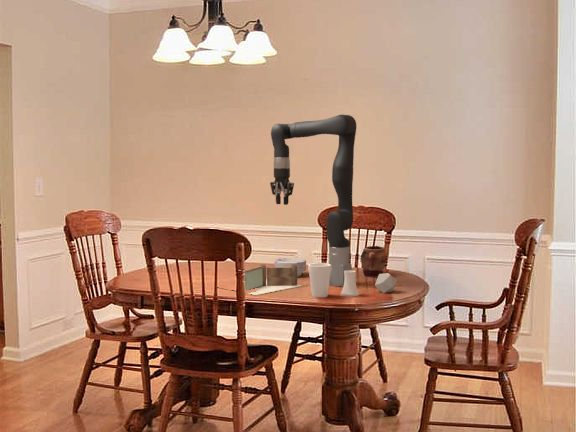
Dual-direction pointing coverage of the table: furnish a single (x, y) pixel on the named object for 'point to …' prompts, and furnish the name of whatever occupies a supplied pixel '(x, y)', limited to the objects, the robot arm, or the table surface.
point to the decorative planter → (373, 261)
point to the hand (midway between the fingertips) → (282, 204)
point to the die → (385, 283)
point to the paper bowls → (290, 261)
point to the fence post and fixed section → (280, 276)
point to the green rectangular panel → (253, 278)
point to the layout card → (271, 289)
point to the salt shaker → (349, 284)
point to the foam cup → (319, 278)
